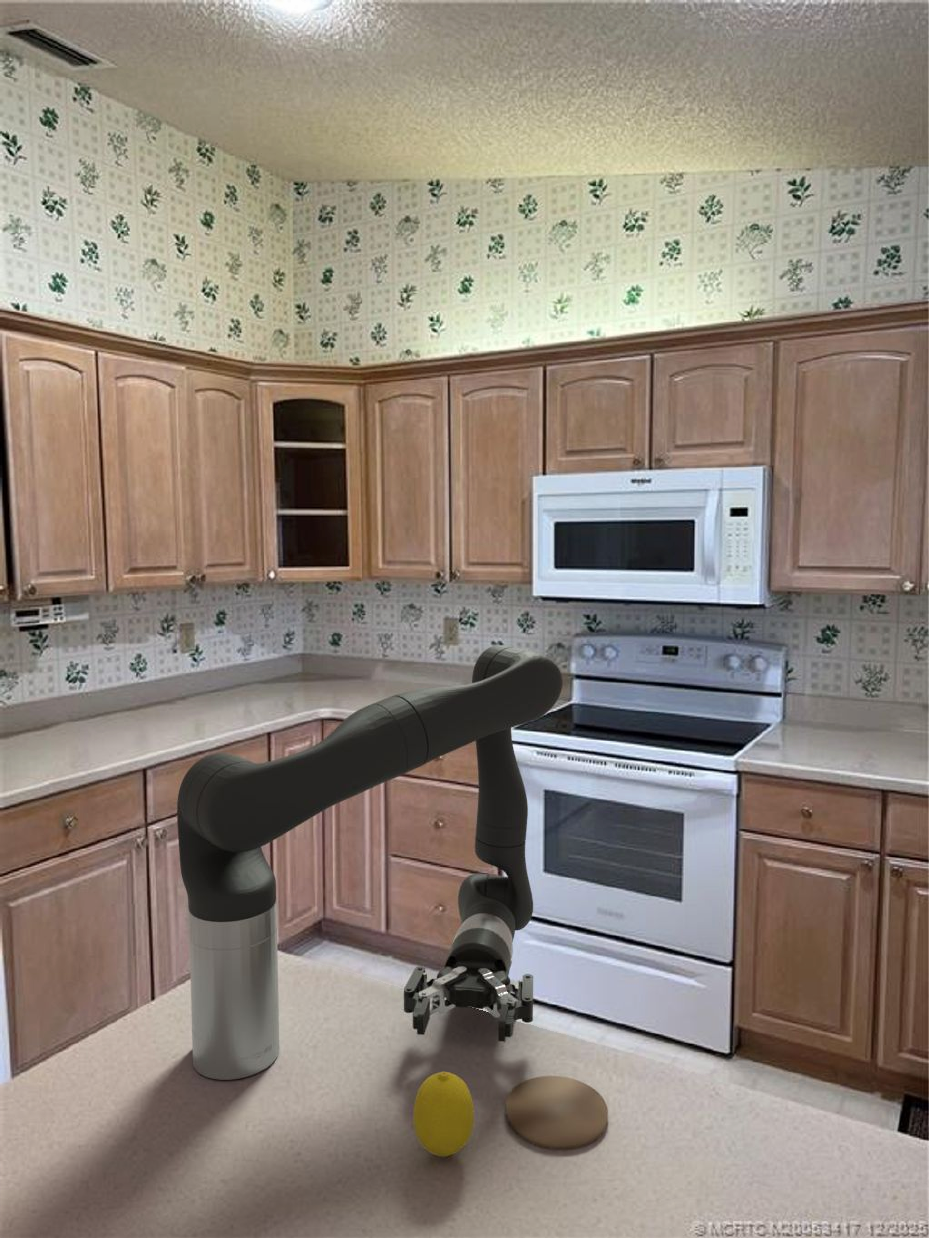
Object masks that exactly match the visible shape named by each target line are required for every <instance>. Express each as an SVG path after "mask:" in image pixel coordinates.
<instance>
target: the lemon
mask: <svg viewBox="0 0 929 1238" xmlns="http://www.w3.org/2000/svg"><path fill="white" fill-rule="evenodd" d="M474 1109H475V1108H474V1103H473V1099H472V1094H471V1093H470V1090H469V1087H468V1086H467V1084H466V1082H465V1081H464V1080H463V1079H462V1078H461V1077H460V1076H458V1075H457V1074H454V1073H452V1072H448V1071H440V1072H437V1073H433V1074H431V1075H430V1076H428V1077H427V1078H426V1079H425V1080H424V1082H423V1083H422V1084H421V1085H420V1087H419V1089H418V1091H417V1094H416V1098H415V1100H414V1105H413V1125H414V1131H415V1134H416V1137H417V1139H418V1142H419V1143H420V1145H422V1147H424V1149H426V1151H428V1152H429V1153H431V1154H433V1155H435V1156H437V1157H438V1156H439V1157H442V1158H446V1157H448V1156H452V1155H455V1154H456V1153H458V1152H459V1151H461V1150H462V1149H463V1148H464V1147H465V1145H466V1144H467V1143H468V1142H469V1139H470V1138H471V1135H472V1131H473V1129H474V1119H475V1112H474Z"/></svg>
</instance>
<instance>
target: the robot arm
mask: <svg viewBox="0 0 929 1238" xmlns="http://www.w3.org/2000/svg"><path fill="white" fill-rule="evenodd" d="M562 689H563V675H562V673H561V670H560V668H559V667H558V665H557V664H556V663H555V662H554V660H552V659H551V658H549V657H547V656H545V655H544V654H541V653H538V652H536V651H530V650H527V649H522V648H517V647H513V646H509V645H499V644H495V645H493V646H489V647H487V648H486V649H485V650H484V651H482V652H481V654H480V655H479V656H478V658H477V660H476V662H475V664H474V667H473V671H472V676H471V683H466V684H462V685H461V684H460V685H459V684H458V685H451V686H440V687H439V686H437V687H429V688H421V689H420V688H419V689H416V690H415V689H414V690H409V691H405V692H401V693H398V694H394V695H392V696H389V697H386V698H384V699H381V700H378V701H376V702H373V703H372V704H368V705H367V706H364V707H361V708H359V709H358V710H356V711H354V712H353V713H351V714H350V715H349V716H347V717H346V718H345V719H343V721H341V723H339V725H337V727H336V728H334V729H333V730H332V731H331V732H330V733H329V735H327V736H326V737H325V738H324V739H323V740H321V741H320V742H318V743H317V744H314V745H313V746H310V747H308V748H305V749H303V750H302V751H301V750H300V751H298V752H295V753H293V754H292V753H291V754H289V755H287V756H284V757H282V758H281V757H280V758H278V759H274V760H271V761H266V762H258V763H255V762H253V761H251V760H248V759H247V758H244V757H241V756H239V755H236V754H232V753H227V752H219V753H218V752H217V753H213V754H212V753H211V754H209V755H207V756H204V757H202V758H200V759H199V760H197V761H196V762H195V763H193V764H192V766H191V767H190V768H188V770H187V772H186V773H185V774H184V776H183V778H182V781H181V784H180V785H179V786H180V787H179V790H178V794H177V800H176V801H177V803H176V819H177V820H176V821H177V822H176V823H177V835H178V836H177V837H178V838H177V839H178V851H179V852H178V853H179V865H180V873H181V874H180V875H181V879H182V882H183V885H184V888H185V890H186V891H185V892H186V894H187V903H188V932H189V933H188V936H189V968H190V969H189V970H190V971H189V972H190V1000H191V1001H190V1005H191V1007H190V1008H191V1009H190V1010H191V1039H192V1044H191V1046H192V1064H193V1068H194V1069H195V1070H196V1072H197V1073H199V1074H200V1075H202V1076H204V1077H206V1078H208V1079H209V1078H210V1079H213V1080H220V1081H223V1080H227V1081H231V1080H238V1079H239V1080H240V1079H243V1078H248V1077H250V1076H253V1075H256V1074H258V1073H259V1072H262V1071H264V1070H265V1069H267V1068H268V1067H269V1066H271V1065H272V1064H273V1063H274V1062H275V1061H276V1059H277V1058H278V1055H279V1053H280V1014H279V1013H280V1010H279V1009H280V1007H279V1006H280V1003H279V964H278V963H279V962H278V959H279V956H278V955H279V954H278V951H279V950H278V914H277V913H278V912H277V906H278V905H277V880H276V879H277V878H276V875H275V874H274V871H273V870H272V869H271V867H270V865H269V863H268V861H267V859H266V857H265V855H264V851H263V848H262V847H264V846H266V845H267V844H269V843H272V842H273V841H275V840H277V839H278V838H280V837H282V836H283V835H286V834H287V833H288V832H290V831H291V830H293V829H295V828H297V827H299V826H300V825H302V824H303V823H305V822H307V821H309V820H310V819H312V818H313V817H315V816H317V815H318V814H320V813H322V812H324V811H325V810H327V809H329V808H331V807H333V806H335V805H337V804H339V803H341V802H343V801H346V800H349V799H350V798H353V797H355V796H357V795H360V794H363V793H364V792H367V791H368V790H371V789H373V788H374V787H377V786H379V785H382V784H384V783H386V782H388V781H390V780H395V779H396V778H399V777H400V776H402V775H405V774H407V773H409V772H411V771H413V770H416V769H418V768H421V767H423V766H424V765H426V764H428V763H430V762H433V761H434V760H435V759H438V758H440V757H442V756H445V755H447V754H449V753H451V752H454V751H456V750H458V749H460V748H463V747H465V746H468V744H469V745H470V744H472V743H473V742H475V750H476V758H477V759H476V760H477V761H476V762H477V774H478V775H477V778H478V779H477V780H478V781H477V782H478V797H477V798H478V799H477V812H476V825H475V827H476V828H475V838H474V852H475V855H476V857H477V858H478V859H479V860H480V861H482V863H485V864H487V865H490V866H493V867H495V868H498V869H499V870H501V871H503V872H504V873H505V874H506V876H502V875H497V874H496V875H494V874H489V873H488V874H487V873H473V874H470V875H468V876H467V877H466V878H464V879H463V881H462V883H461V884H460V887H459V891H458V896H457V905H458V911H459V917H460V919H461V920H460V921H461V923H460V926H459V928H458V929H457V931H456V933H455V936H454V937H453V941H452V943H451V947H450V949H449V952H448V955H447V958H446V961H445V964H444V966H443V967H444V968H443V969H441V970H440V971H439V972H438V973H437V974H435V973H434V974H433V973H427V972H426V967H425V966H423V965H419V966H416V967H414V970H413V972H412V974H411V975H410V977H409V978H408V981H407V982H406V984H405V986H404V987H403V1012H405V1013H406V1014H411V1013H412V1028H413V1030H416V1035H421V1036H425V1033H426V1030H427V1027H428V1026H429V1022H430V1019H431V1016H432V1015H434V1014H436V1013H440V1014H441V1015H442V1014H445V1013H446V1012H448V1011H450V1010H452V1009H453V1008H473V1009H478V1010H484V1009H485V1010H486V1011H487V1012H488V1013H489V1014H490V1015H492V1016H493V1017H494V1018H495V1019H498V1025H497V1029H498V1033H497V1034H498V1035H497V1037H498V1038H497V1039H498V1042H500V1043H501V1042H502V1043H506V1041H507V1038H511V1037H512V1036H514V1035H513V1034H514V1030H515V1029H514V1028H515V1025H516V1022H517V1021H518V1020H521V1021H522V1022H523V1023H527V1024H528V1023H532V1022H533V1021H534V974H530V973H524V974H523V975H522V979H519V980H518V979H515V980H513V979H511V978H510V977H509V975H510V969H511V966H512V963H513V952H514V946H513V945H514V944H513V943H514V939H515V935H516V934H515V932H516V931H521V930H522V929H524V928H525V927H526V926H527V925H529V923H530V921H531V919H532V916H533V914H534V898H533V893H532V888H531V885H530V883H531V882H530V880H529V875H528V870H527V863H526V840H527V829H528V828H527V827H528V819H529V817H528V815H529V812H528V810H529V809H528V808H529V806H528V805H529V804H528V797H527V793H526V787H525V784H524V781H523V778H522V774H521V771H520V767H519V765H518V761H517V758H516V753H515V750H514V745H513V737H512V728H515V727H518V726H521V725H524V724H526V723H527V724H528V723H530V722H534V721H536V720H538V719H540V718H541V717H543V716H545V715H546V714H547V713H548V712H549V711H551V710H552V708H553V707H554V705H556V703H557V701H558V700H559V698H560V695H561V693H562ZM511 993H514V995H515V997H517V999H516V998H515V997H514V996H513V995H512V994H511ZM431 999H432V1001H431Z"/></svg>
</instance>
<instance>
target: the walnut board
mask: <svg viewBox="0 0 929 1238" xmlns="http://www.w3.org/2000/svg"><path fill="white" fill-rule="evenodd" d="M608 1114H609V1112H608V1106H607V1103H606V1101H605V1099H604V1097H603V1096H602V1095H601V1094H600V1092H598V1091H597V1090H596V1089H595V1088H593V1087H592V1086H591V1085H589V1084H586V1083H585V1082H583V1081H580V1080H577V1079H575V1078H572V1077H571V1078H570V1077H567V1076H559V1075H542V1076H537V1077H532V1078H529V1079H527V1080H524V1081H522V1082H520V1083H518V1084H517V1085H515V1087H514V1088H512V1089H511V1090H510V1092H509V1093H508V1095H507V1097H506V1101H505V1118H506V1121H507V1124H508V1126H509V1127H510V1129H511V1130H512V1132H514V1133H515V1135H517V1136H518V1137H519V1138H520V1139H522V1140H524V1141H525V1142H528V1143H529V1144H532V1145H534V1146H537V1147H541V1148H544V1149H548V1150H558V1151H559V1150H560V1151H562V1150H563V1151H565V1150H567V1151H568V1150H575V1149H580V1148H584V1147H586V1146H588V1145H591V1144H592V1143H594V1142H595V1141H597V1140H598V1139H599V1138H600V1137H601V1136H602V1135H603V1134H604V1132H605V1131H606V1129H607V1126H608V1119H609V1117H608V1116H609V1115H608Z"/></svg>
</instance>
